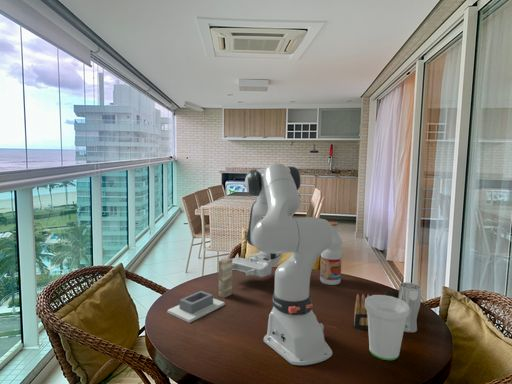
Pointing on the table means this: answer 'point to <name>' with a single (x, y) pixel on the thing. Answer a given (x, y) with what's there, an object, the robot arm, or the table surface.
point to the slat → (225, 277)
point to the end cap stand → (195, 306)
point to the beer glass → (410, 303)
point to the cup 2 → (386, 325)
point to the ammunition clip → (360, 313)
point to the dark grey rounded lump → (392, 293)
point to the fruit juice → (332, 259)
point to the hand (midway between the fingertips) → (236, 271)
